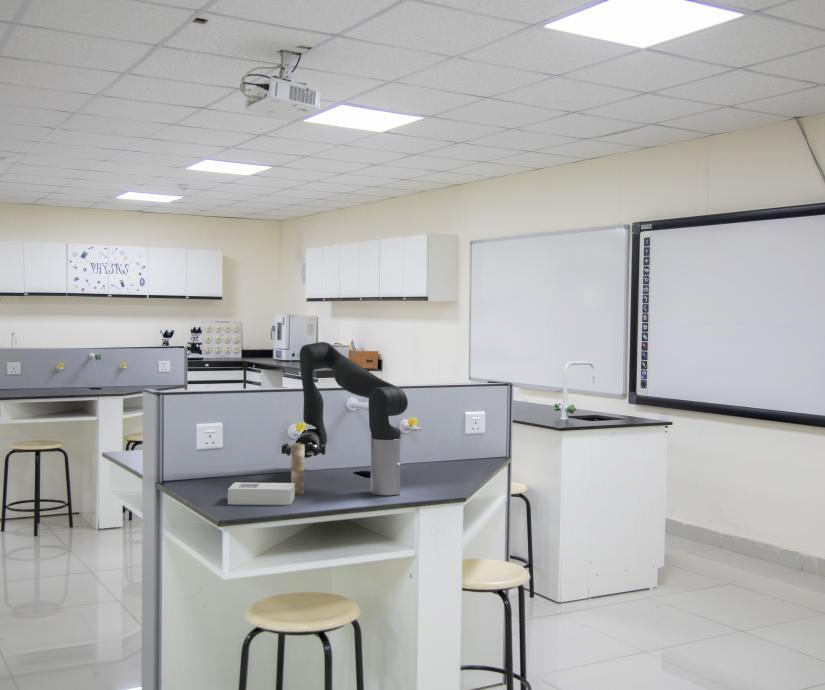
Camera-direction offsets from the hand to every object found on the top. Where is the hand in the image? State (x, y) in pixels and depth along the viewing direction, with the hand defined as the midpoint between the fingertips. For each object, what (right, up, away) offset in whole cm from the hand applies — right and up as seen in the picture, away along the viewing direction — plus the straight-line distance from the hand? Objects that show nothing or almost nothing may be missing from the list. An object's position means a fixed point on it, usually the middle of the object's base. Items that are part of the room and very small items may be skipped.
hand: (301, 452), depth 271 cm
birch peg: (0, -11, -11) cm, 16 cm away
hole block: (-9, -11, -23) cm, 27 cm away
